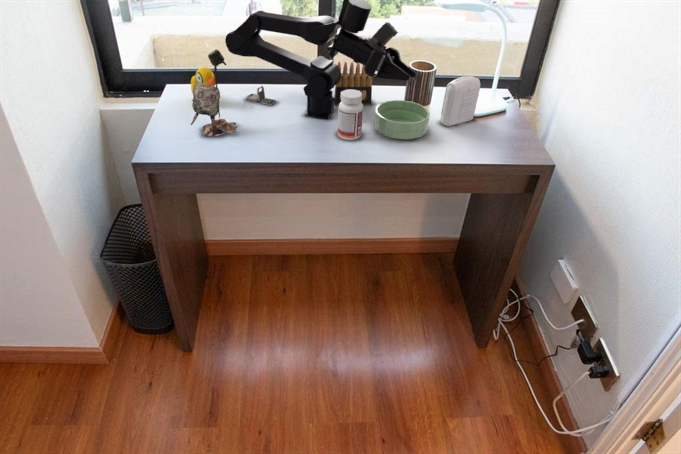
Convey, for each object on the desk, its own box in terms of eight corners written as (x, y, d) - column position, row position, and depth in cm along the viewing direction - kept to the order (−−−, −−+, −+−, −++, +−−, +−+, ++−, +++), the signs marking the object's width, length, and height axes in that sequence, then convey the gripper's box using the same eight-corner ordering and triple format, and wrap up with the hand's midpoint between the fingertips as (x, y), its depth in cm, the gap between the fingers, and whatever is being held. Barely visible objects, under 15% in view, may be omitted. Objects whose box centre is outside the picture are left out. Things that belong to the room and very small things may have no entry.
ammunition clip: (370, 100, 148) (373, 60, 140) (371, 103, 146) (374, 62, 139) (333, 101, 146) (335, 60, 139) (334, 104, 145) (336, 62, 138)
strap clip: (245, 99, 145) (244, 85, 142) (251, 96, 147) (250, 81, 144) (271, 106, 142) (270, 91, 140) (276, 102, 144) (276, 87, 142)
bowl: (369, 136, 130) (370, 118, 127) (379, 114, 141) (381, 97, 138) (423, 145, 128) (426, 127, 124) (429, 121, 138) (432, 104, 135)
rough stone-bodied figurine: (196, 122, 132) (185, 45, 120) (240, 124, 132) (233, 47, 120) (189, 137, 126) (176, 57, 114) (234, 139, 126) (227, 59, 114)
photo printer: (464, 114, 143) (473, 71, 136) (475, 120, 140) (484, 76, 133) (437, 121, 138) (444, 78, 131) (448, 128, 136) (456, 83, 128)
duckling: (226, 106, 141) (223, 71, 135) (210, 111, 138) (205, 75, 132) (204, 93, 147) (199, 59, 141) (187, 98, 144) (182, 63, 138)
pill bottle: (354, 128, 133) (357, 86, 127) (365, 138, 129) (368, 96, 122) (333, 132, 131) (334, 90, 124) (343, 142, 127) (346, 99, 120)
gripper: (361, 14, 113) (422, 46, 112) (379, 17, 130) (433, 44, 129) (341, 61, 118) (399, 92, 117) (361, 58, 135) (412, 85, 133)
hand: (412, 77), depth 124 cm, fingers open, 9 cm apart
